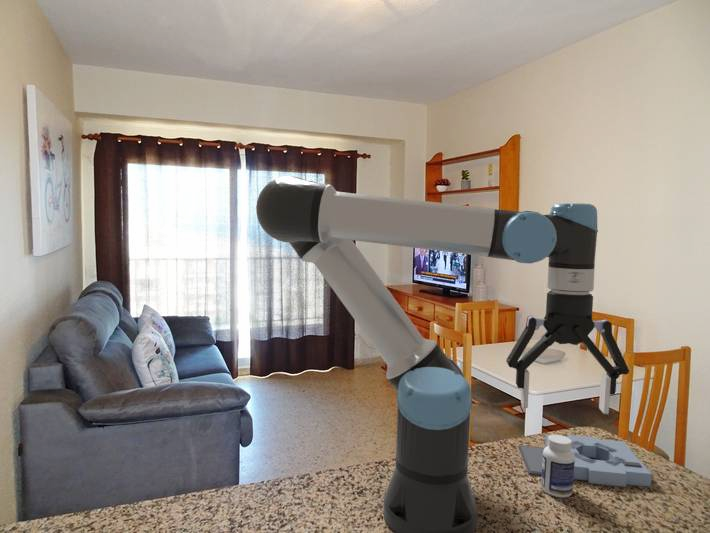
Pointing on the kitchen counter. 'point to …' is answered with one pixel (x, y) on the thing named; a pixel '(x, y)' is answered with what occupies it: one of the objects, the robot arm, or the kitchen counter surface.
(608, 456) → the dock
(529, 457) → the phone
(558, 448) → the pill bottle
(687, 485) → the kitchen counter surface
